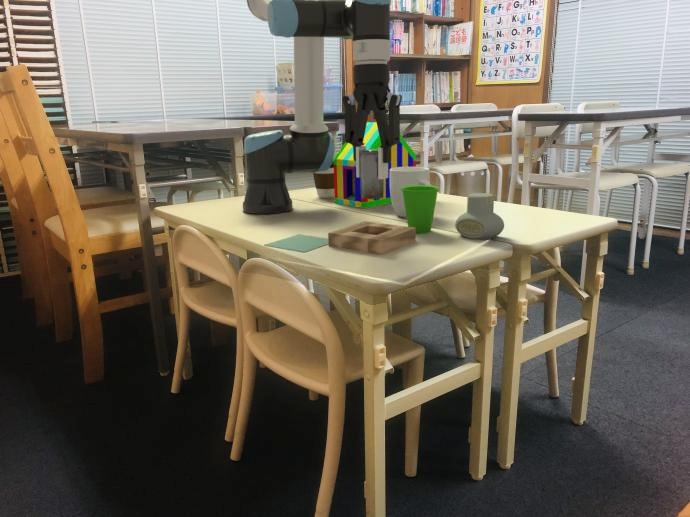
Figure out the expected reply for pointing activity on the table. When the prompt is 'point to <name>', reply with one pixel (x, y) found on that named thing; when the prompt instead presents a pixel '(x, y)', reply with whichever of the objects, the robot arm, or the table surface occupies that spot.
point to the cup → (420, 206)
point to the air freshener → (480, 218)
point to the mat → (299, 243)
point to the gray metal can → (370, 175)
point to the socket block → (372, 237)
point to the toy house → (350, 185)
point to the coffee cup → (325, 182)
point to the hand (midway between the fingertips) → (372, 177)
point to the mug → (405, 184)
